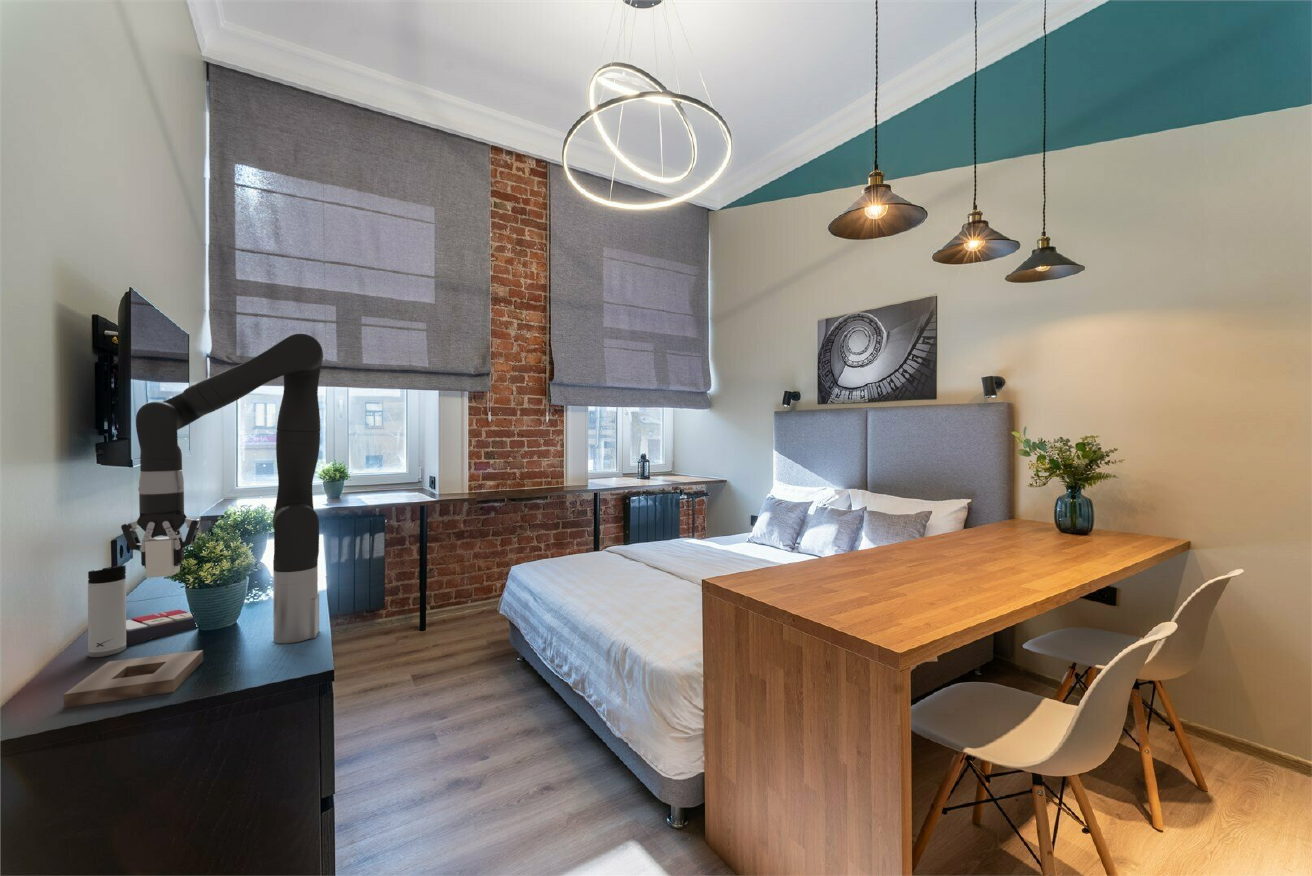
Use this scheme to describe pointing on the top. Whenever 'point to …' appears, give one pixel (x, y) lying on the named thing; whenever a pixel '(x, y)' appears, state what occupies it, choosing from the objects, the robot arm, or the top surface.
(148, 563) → the peg
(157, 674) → the socket base
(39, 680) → the top surface
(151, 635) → the calculator
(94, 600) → the travel mug
